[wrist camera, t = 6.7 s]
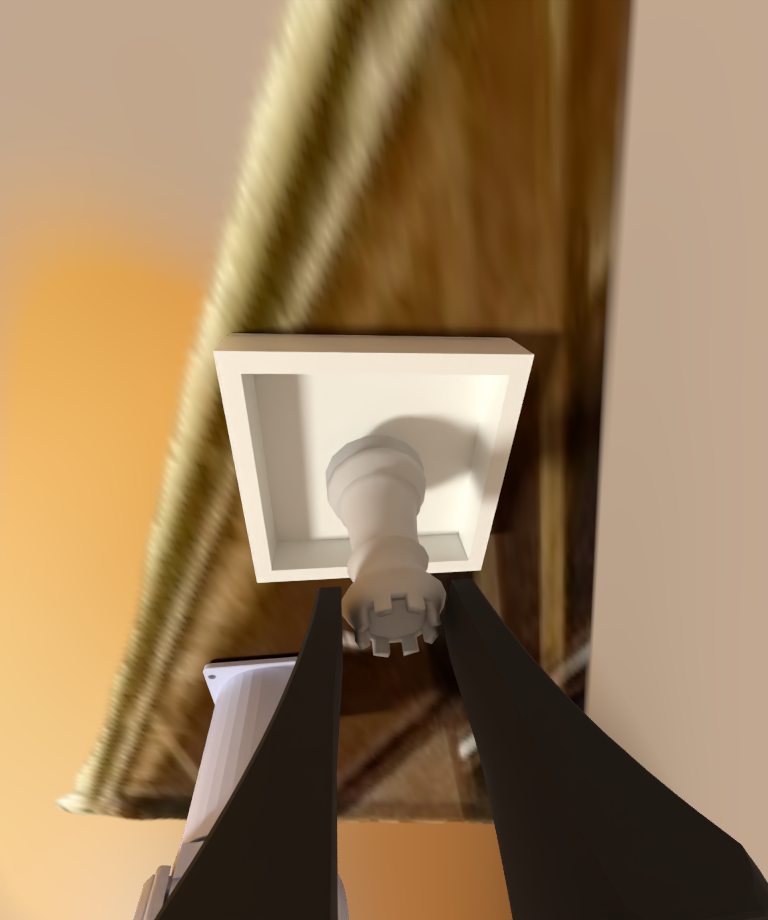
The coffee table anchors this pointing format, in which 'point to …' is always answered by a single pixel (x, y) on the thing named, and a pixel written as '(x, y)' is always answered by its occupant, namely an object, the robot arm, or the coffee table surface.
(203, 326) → the coffee table surface
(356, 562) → the rook chess piece
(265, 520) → the tray
